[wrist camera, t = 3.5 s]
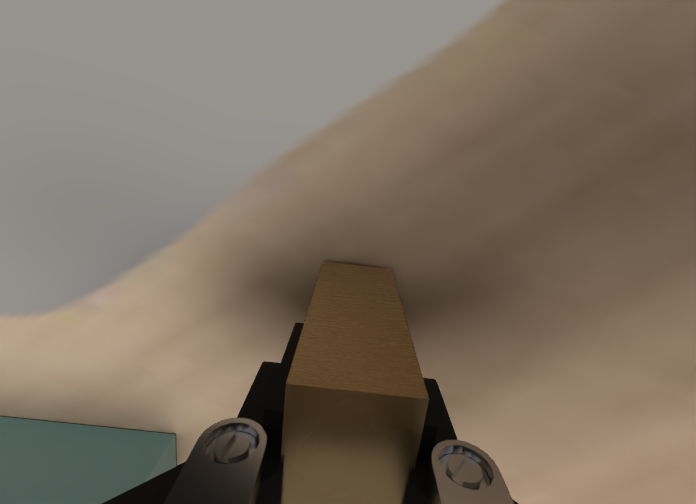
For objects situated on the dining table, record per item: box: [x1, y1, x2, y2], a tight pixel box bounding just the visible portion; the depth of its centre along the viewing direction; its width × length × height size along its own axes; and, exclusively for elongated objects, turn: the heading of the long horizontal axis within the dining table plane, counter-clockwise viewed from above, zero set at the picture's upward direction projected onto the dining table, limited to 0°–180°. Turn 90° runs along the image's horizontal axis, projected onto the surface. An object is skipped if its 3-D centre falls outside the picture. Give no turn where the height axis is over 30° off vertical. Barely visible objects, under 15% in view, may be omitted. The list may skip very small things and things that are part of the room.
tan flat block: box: [280, 261, 429, 504], centre depth 10 cm, size 2×5×7 cm, turn 174°
